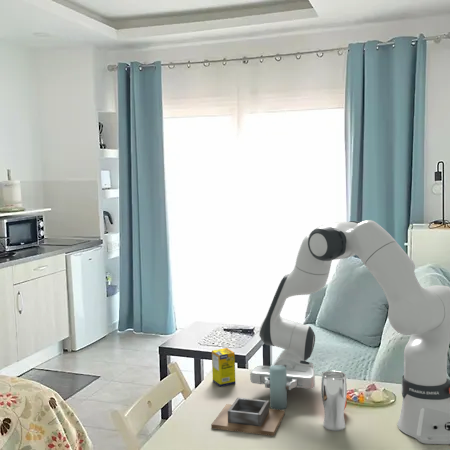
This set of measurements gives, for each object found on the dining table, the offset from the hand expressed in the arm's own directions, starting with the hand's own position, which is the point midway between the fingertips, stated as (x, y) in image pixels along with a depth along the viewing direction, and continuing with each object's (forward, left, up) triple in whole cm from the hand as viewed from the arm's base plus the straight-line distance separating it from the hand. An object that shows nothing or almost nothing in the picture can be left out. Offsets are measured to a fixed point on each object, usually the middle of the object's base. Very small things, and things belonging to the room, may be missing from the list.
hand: (277, 386), depth 175 cm
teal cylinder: (0, -1, -7) cm, 7 cm away
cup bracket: (+6, +11, -7) cm, 14 cm away
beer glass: (-18, +8, -7) cm, 21 cm away
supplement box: (+22, -15, -7) cm, 28 cm away
